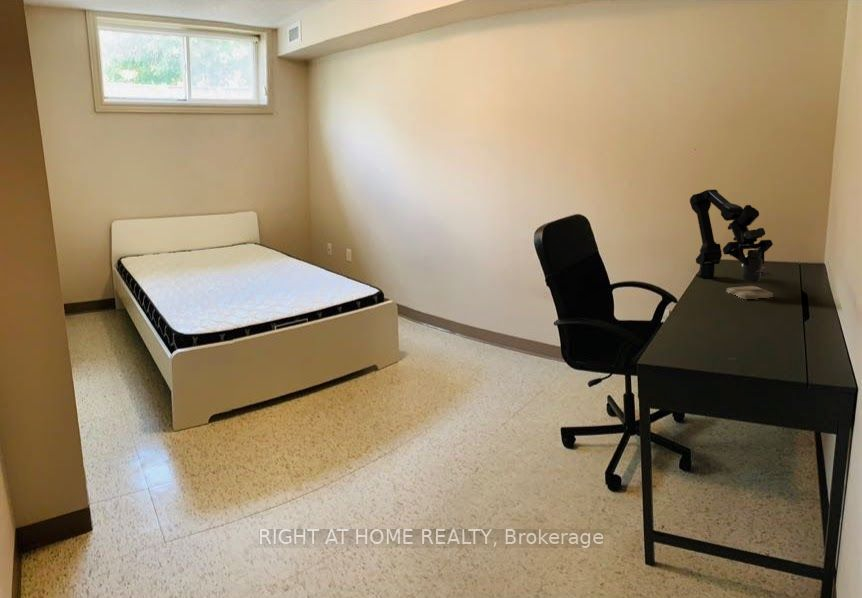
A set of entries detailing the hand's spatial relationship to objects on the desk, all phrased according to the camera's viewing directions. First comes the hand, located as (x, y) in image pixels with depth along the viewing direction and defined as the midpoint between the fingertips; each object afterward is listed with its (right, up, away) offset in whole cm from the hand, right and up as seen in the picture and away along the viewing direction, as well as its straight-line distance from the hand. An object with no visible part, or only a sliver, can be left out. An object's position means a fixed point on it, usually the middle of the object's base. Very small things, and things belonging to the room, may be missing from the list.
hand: (755, 264), depth 239 cm
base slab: (0, -12, +5) cm, 13 cm away
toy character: (+20, -2, +39) cm, 44 cm away
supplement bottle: (0, -6, +3) cm, 7 cm away
